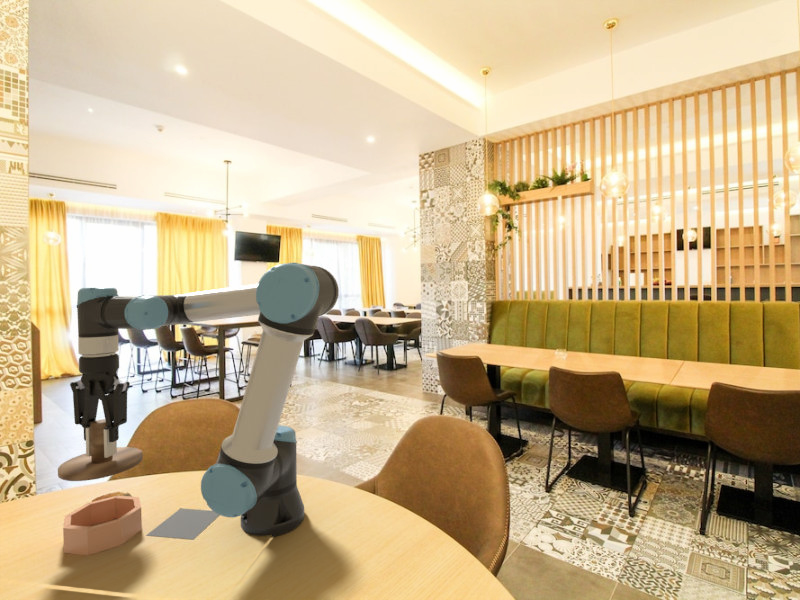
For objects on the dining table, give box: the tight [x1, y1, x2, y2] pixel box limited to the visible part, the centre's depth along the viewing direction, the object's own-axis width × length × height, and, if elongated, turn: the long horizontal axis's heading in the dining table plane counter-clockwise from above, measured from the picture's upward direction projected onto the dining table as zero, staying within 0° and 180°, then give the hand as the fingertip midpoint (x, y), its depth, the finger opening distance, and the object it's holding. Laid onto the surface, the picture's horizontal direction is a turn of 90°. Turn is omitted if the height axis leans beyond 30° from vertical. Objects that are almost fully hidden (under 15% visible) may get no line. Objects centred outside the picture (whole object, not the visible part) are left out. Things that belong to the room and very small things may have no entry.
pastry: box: [91, 491, 133, 502], centre depth 111 cm, size 9×7×4 cm
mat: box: [146, 507, 220, 540], centre depth 102 cm, size 12×12×1 cm
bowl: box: [62, 495, 143, 556], centre depth 97 cm, size 14×14×6 cm
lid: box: [57, 418, 144, 482], centre depth 97 cm, size 16×16×10 cm
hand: (101, 454), depth 97 cm, fingers closed on lid, 4 cm apart
